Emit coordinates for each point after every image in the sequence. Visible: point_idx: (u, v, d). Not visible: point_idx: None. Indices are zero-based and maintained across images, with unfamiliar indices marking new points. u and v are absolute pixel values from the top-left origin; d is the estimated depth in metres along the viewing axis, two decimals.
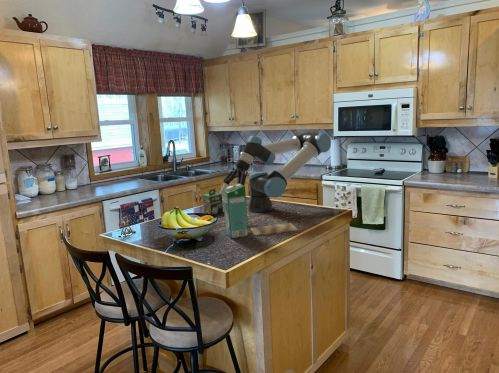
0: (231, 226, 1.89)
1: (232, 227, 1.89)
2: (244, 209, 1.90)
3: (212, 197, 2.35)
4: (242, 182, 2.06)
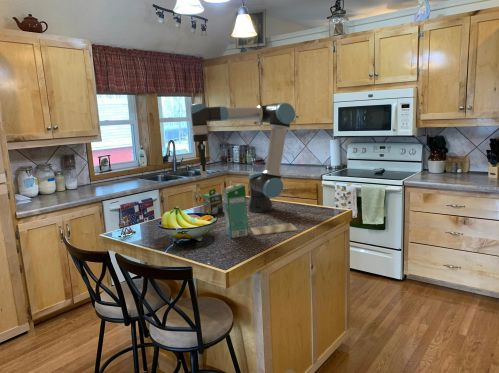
0: (231, 226, 1.89)
1: (232, 227, 1.89)
2: (244, 209, 1.90)
3: (212, 197, 2.35)
4: (202, 159, 1.98)
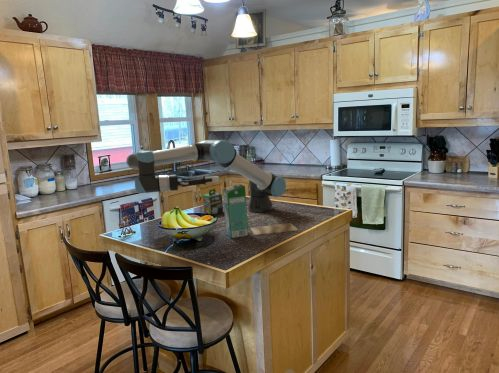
0: (231, 226, 1.89)
1: (232, 227, 1.89)
2: (244, 209, 1.90)
3: (212, 197, 2.35)
4: (200, 182, 1.83)
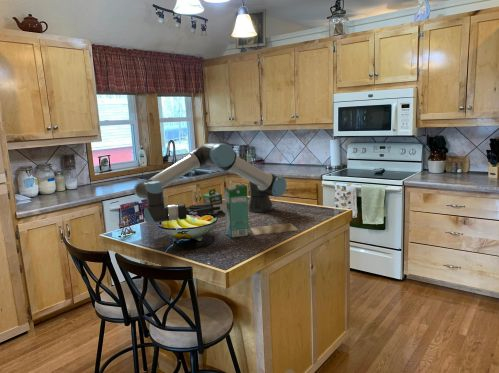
0: (231, 225, 1.89)
1: (232, 226, 1.89)
2: (245, 209, 1.90)
3: (212, 197, 2.35)
4: (208, 211, 1.86)
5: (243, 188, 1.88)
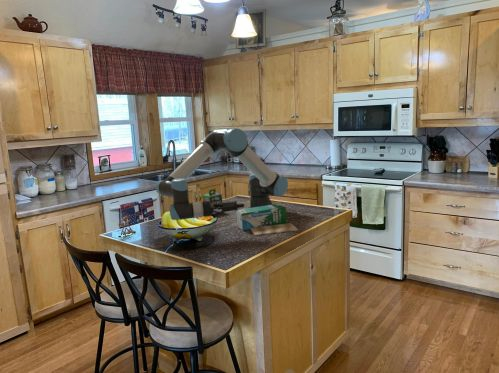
0: (247, 208, 2.09)
1: (246, 209, 2.08)
2: (265, 209, 2.04)
3: (212, 197, 2.35)
4: (232, 208, 1.88)
5: (282, 206, 2.09)
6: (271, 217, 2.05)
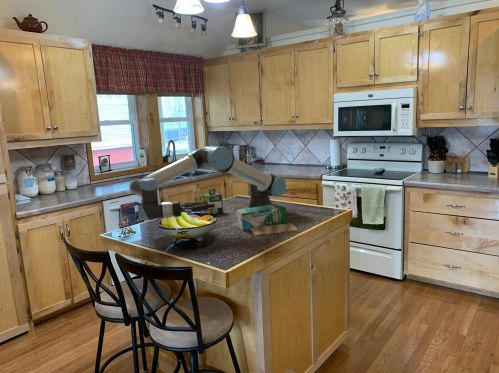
0: (247, 208, 2.09)
1: (246, 208, 2.08)
2: (265, 209, 2.04)
3: (212, 197, 2.35)
4: (203, 208, 1.85)
5: (282, 206, 2.08)
6: (271, 217, 2.05)
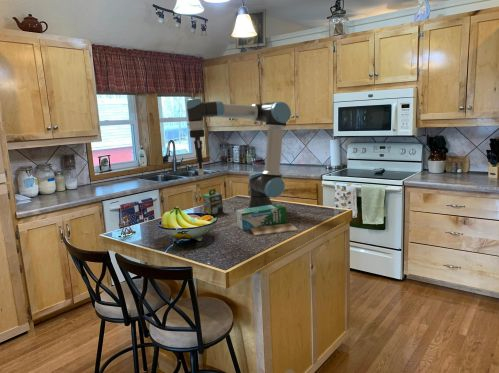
0: (247, 208, 2.09)
1: (246, 208, 2.08)
2: (265, 209, 2.04)
3: (212, 197, 2.35)
4: (199, 158, 1.99)
5: (282, 206, 2.08)
6: (271, 217, 2.05)
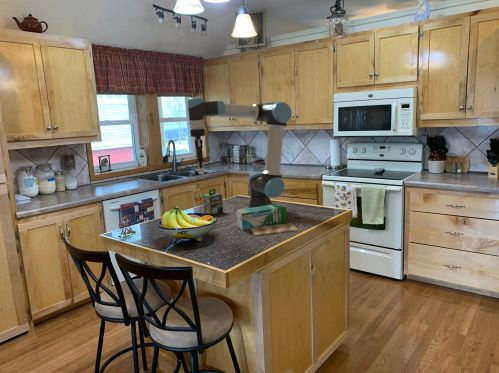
0: (247, 208, 2.09)
1: (246, 208, 2.08)
2: (265, 209, 2.04)
3: (212, 197, 2.35)
4: (199, 157, 1.99)
5: (282, 206, 2.08)
6: (271, 217, 2.05)
